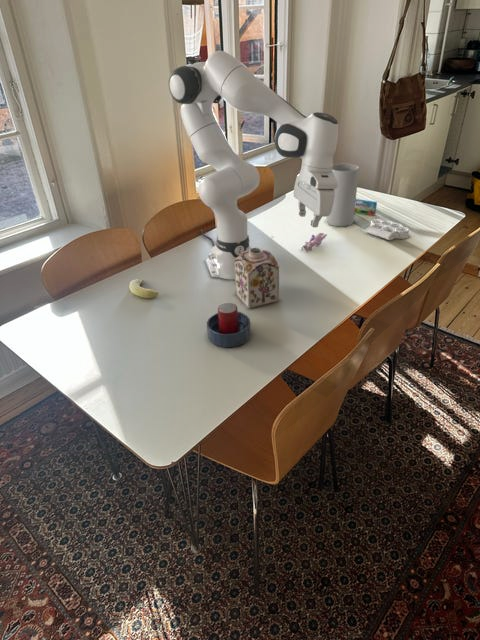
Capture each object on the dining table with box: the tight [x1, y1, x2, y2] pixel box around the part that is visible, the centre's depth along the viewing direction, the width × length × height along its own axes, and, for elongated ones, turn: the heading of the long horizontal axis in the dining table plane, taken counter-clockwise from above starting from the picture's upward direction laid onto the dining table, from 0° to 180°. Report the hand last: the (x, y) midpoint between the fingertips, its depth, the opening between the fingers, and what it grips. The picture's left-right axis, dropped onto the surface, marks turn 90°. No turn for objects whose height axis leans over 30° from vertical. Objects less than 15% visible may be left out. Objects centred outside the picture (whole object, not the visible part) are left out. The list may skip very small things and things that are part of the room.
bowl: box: [206, 311, 252, 348], centre depth 140 cm, size 13×13×5 cm
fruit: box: [129, 278, 159, 299], centre depth 165 cm, size 7×15×3 cm, turn 32°
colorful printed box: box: [354, 198, 378, 216], centre depth 220 cm, size 12×2×6 cm, turn 58°
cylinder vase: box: [325, 163, 360, 227], centre depth 207 cm, size 12×12×25 cm
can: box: [217, 302, 239, 334], centre depth 138 cm, size 6×6×10 cm
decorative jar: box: [234, 247, 280, 310], centre depth 154 cm, size 12×12×18 cm
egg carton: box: [365, 218, 410, 241], centre depth 200 cm, size 3×18×15 cm
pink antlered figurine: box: [301, 232, 328, 252], centre depth 191 cm, size 6×6×15 cm
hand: (307, 221), depth 140 cm, fingers open, 8 cm apart
